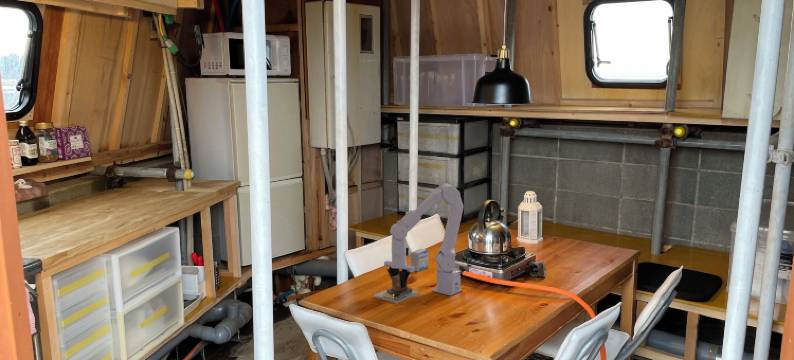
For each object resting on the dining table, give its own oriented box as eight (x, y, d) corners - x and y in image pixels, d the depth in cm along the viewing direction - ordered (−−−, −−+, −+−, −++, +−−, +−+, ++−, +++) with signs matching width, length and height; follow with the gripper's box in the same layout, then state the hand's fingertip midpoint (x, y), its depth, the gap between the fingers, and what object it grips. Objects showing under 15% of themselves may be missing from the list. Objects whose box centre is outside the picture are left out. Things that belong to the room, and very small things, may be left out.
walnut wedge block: (407, 289, 248) (406, 275, 247) (399, 293, 244) (398, 278, 244) (400, 288, 251) (400, 274, 250) (392, 291, 247) (392, 276, 246)
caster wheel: (526, 276, 277) (548, 274, 274) (522, 278, 267) (545, 276, 263) (524, 261, 278) (547, 259, 275) (520, 262, 268) (544, 261, 264)
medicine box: (418, 272, 278) (418, 253, 277) (410, 270, 281) (410, 252, 280) (428, 267, 284) (428, 249, 283) (420, 266, 287) (420, 248, 286)
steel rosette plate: (418, 294, 248) (418, 288, 247) (396, 303, 237) (396, 298, 237) (396, 288, 255) (396, 283, 255) (373, 297, 245) (373, 291, 245)
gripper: (378, 252, 247) (379, 285, 249) (406, 258, 238) (406, 292, 239) (390, 249, 252) (391, 281, 254) (417, 254, 243) (418, 287, 245)
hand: (399, 286), depth 247 cm, fingers closed on walnut wedge block, 4 cm apart
